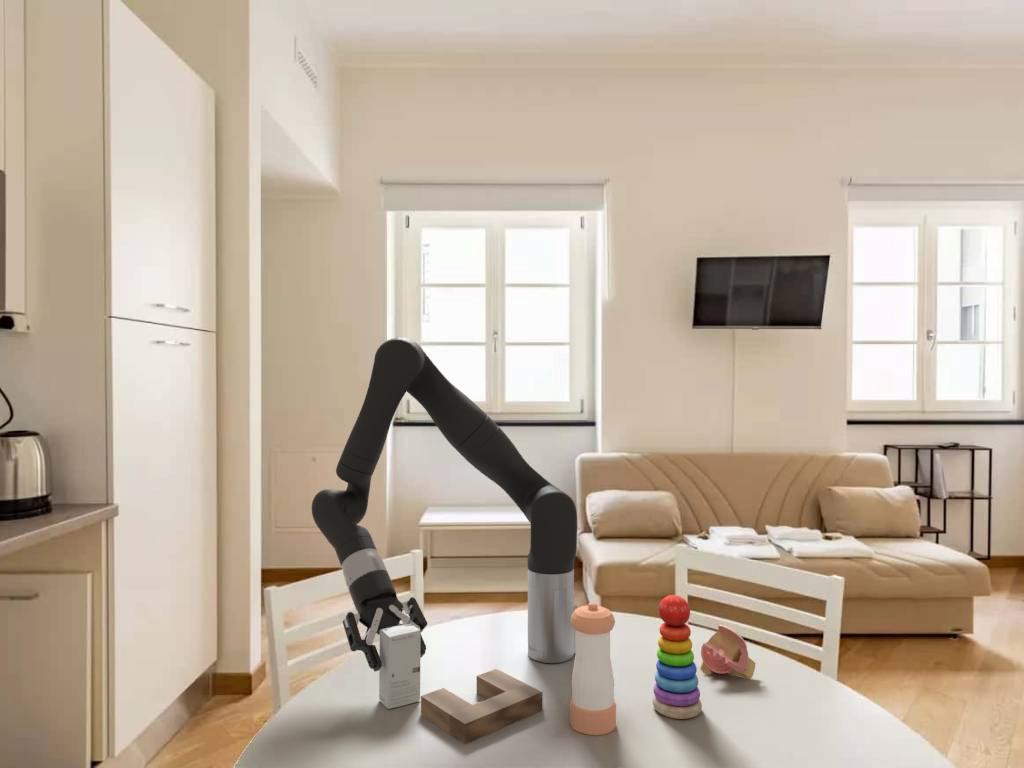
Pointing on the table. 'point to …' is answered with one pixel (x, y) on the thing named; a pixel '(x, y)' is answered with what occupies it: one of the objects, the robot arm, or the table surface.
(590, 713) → the pepper shaker
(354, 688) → the table surface
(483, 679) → the notched board
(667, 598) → the stacking toy
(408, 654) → the skincare box
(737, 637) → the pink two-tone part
